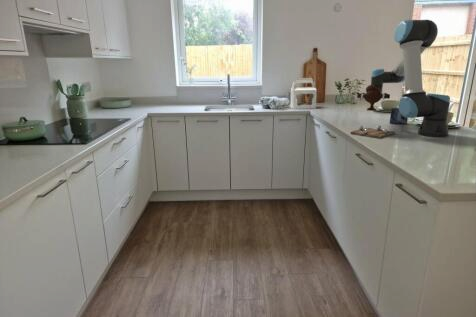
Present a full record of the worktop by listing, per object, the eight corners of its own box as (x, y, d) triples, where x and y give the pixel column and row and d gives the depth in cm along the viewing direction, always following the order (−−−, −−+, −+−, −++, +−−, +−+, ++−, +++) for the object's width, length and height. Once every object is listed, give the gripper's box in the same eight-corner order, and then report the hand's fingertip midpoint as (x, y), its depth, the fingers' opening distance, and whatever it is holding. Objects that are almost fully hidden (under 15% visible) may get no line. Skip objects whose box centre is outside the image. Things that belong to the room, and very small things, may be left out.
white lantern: (292, 109, 300) (293, 78, 292) (290, 107, 313) (290, 77, 305) (316, 108, 301) (317, 77, 293) (312, 106, 313) (313, 77, 305)
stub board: (394, 133, 190) (395, 127, 189) (379, 138, 179) (380, 132, 178) (366, 129, 203) (366, 123, 202) (350, 133, 192) (351, 127, 191)
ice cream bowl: (372, 111, 188) (375, 85, 184) (358, 109, 198) (360, 84, 193) (385, 110, 193) (387, 84, 188) (370, 108, 202) (372, 84, 198)
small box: (389, 124, 219) (391, 108, 216) (389, 122, 225) (391, 107, 222) (407, 124, 215) (409, 109, 212) (406, 123, 221) (408, 107, 218)
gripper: (394, 100, 204) (393, 104, 185) (355, 99, 214) (351, 103, 196) (395, 88, 202) (394, 91, 183) (356, 88, 212) (351, 90, 193)
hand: (372, 97), depth 189 cm, fingers closed on ice cream bowl, 11 cm apart
